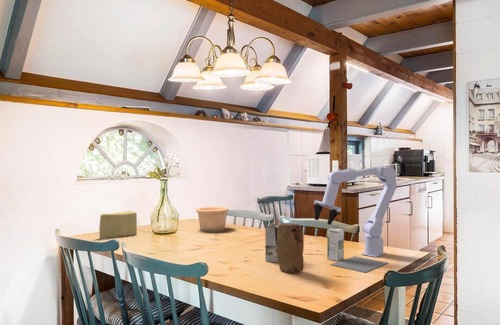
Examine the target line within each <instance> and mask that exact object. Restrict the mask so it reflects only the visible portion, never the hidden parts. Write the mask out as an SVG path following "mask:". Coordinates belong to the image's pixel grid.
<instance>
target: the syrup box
mask: <svg viewBox="0 0 500 325" xmlns="http://www.w3.org/2000/svg"><path fill="white" fill-rule="evenodd" d="M344 236H345V229H344V228H341V227H332V228H327V242H326V243H327V246H326V247H327V249H326V251H327V253H326V254H327V257H326V258H327V260H329V261H334V262H335V261H336V262H339V261H342V260H345V259H344V257H345V255H344V254H345V253H344V250H345V249H344V247H345V246H344V245H345V244H344V242H345V237H344Z"/></svg>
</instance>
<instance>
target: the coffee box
mask: <svg viewBox="0 0 500 325" xmlns="http://www.w3.org/2000/svg"><path fill="white" fill-rule="evenodd" d="M278 225H279V224H277V223H275V224H269V225H267V226H265V237H264V238H265V243H264V244H265V245H264V246H265V254H264V256H265V262H272V263H278V258H277V236H278Z"/></svg>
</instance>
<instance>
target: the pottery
mask: <svg viewBox="0 0 500 325" xmlns="http://www.w3.org/2000/svg"><path fill="white" fill-rule="evenodd" d="M195 212H196V213H197V216H198V223H199V230H200V231H201V232H204V233H217V232H218V231H219V232H223V231H225V230H226V222H227V221H226V220H227V213H228V212H229V208H228V207H225V206H224V207H223V206H204V207H197V208H196V209H195Z"/></svg>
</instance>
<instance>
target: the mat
mask: <svg viewBox="0 0 500 325" xmlns="http://www.w3.org/2000/svg"><path fill="white" fill-rule="evenodd" d="M388 264H389V263H388V262H386V261H385V262H384V261H380V260H375V259H371V258H364V257H359V256H351V257H349V258H345V259H342V260H340V261H336V262H333V263H332V264H331V263H330V266H332V267H333V266H334V267H338V268H341V269H347V270H352V271H356V272H360V273H364V274H366V273H369V272H370V271H373V270H375V269H378V268H381V267H383V266H385V265H388Z"/></svg>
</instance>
